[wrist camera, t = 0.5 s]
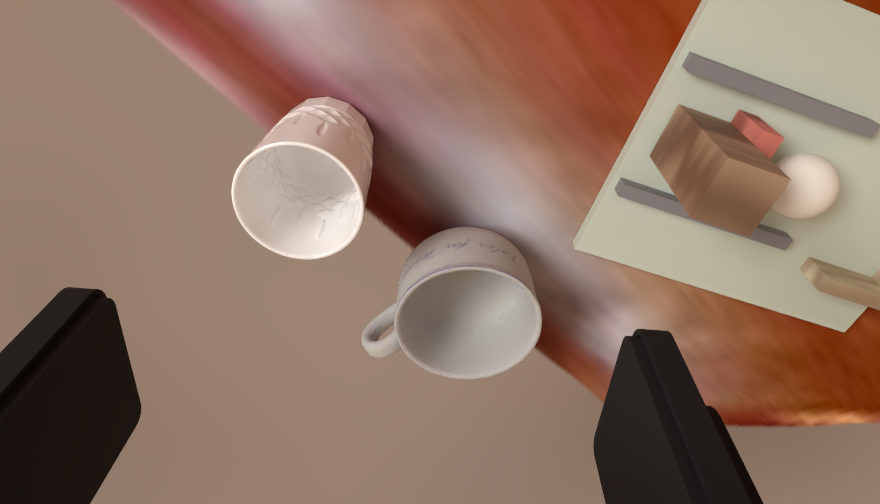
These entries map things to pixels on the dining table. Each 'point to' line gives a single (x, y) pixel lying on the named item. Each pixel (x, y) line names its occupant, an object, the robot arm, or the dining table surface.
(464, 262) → the teacup
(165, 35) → the dining table surface
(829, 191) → the ball
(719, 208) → the block
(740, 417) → the dining table surface
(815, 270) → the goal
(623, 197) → the board
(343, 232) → the white cup
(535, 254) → the dining table surface
